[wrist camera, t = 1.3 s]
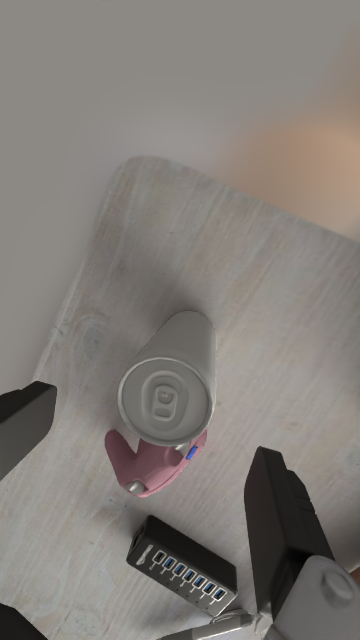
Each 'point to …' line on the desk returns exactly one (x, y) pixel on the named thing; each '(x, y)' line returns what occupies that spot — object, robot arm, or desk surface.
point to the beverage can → (172, 382)
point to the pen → (215, 626)
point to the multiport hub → (183, 566)
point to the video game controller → (149, 462)
